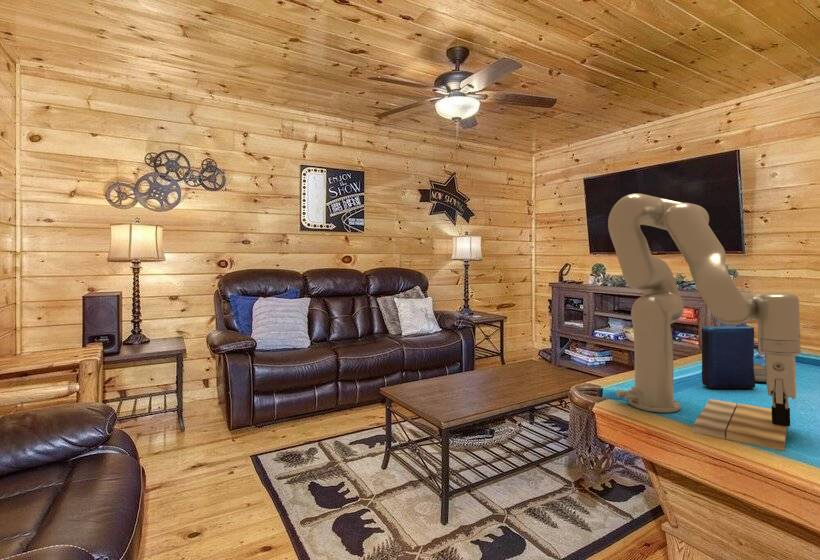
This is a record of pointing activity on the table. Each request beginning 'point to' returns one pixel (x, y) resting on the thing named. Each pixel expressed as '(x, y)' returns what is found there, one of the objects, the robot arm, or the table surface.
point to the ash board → (715, 418)
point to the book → (728, 356)
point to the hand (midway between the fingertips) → (781, 424)
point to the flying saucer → (759, 373)
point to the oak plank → (756, 427)
